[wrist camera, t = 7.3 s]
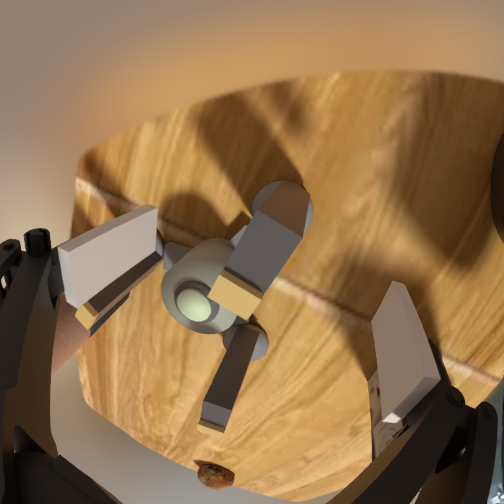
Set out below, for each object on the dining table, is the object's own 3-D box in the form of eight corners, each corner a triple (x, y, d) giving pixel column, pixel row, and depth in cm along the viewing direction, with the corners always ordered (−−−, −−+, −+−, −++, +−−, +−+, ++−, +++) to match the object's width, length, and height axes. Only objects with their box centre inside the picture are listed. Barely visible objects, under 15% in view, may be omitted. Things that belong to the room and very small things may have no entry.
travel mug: (92, 243, 31) (-28, 323, 13) (135, 269, 31) (13, 377, 13) (90, 286, 34) (-6, 367, 17) (129, 313, 34) (36, 413, 16)
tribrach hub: (250, 201, 24) (226, 223, 18) (300, 301, 27) (292, 347, 21) (158, 247, 28) (121, 275, 22) (208, 327, 31) (184, 366, 25)
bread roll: (202, 456, 58) (191, 477, 53) (205, 461, 50) (193, 485, 45) (234, 468, 58) (224, 489, 53) (242, 475, 50) (230, 498, 45)
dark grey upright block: (271, 169, 22) (225, 196, 12) (324, 201, 22) (328, 259, 12) (243, 218, 25) (184, 282, 14) (293, 248, 25) (269, 333, 14)
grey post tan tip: (120, 244, 29) (47, 293, 19) (139, 213, 27) (55, 258, 16) (150, 275, 30) (84, 336, 19) (172, 247, 28) (98, 308, 17)
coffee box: (365, 383, 29) (366, 497, 15) (388, 349, 27) (405, 476, 12) (420, 390, 28) (435, 490, 14) (445, 359, 25) (475, 465, 11)
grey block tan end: (228, 316, 29) (184, 399, 19) (273, 331, 29) (246, 421, 18) (221, 347, 32) (183, 425, 21) (262, 361, 31) (235, 443, 20)
